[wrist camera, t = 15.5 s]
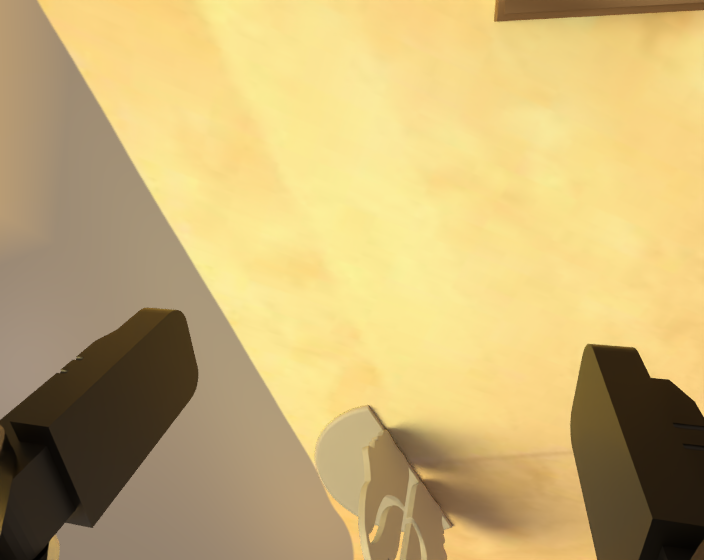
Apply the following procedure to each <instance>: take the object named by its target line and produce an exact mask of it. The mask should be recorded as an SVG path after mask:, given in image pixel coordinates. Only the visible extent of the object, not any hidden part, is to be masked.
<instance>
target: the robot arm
mask: <svg viewBox="0 0 704 560" xmlns="http://www.w3.org/2000/svg"><path fill="white" fill-rule="evenodd" d="M197 382H198V367H197V363H196V359H195V355H194V351H193V346H192V342H191V337H190V334H189V329H188V325H187V321H186V318H185V316H184V314H183V313H182V312H181V311H179V310H169V309H157V308H143V309H141V310H140V311H138V312H137V313H136V314H135V315H134V316H133V317H131V318H130V319H129V320H128V321H127V322H126V323H124V324H123V325H122V326H121V327H120V328H119V329H117V330H116V331H114V332H112V333H110V334H108V335H106V336H104V337H102V338H100V339H98V340H96V341H95V342H93V343H92V344H91V345H90V346H89V347H88V348H86V349H85V350H84V351H83V352H81V353H80V354H79V355H78V356H77V359H76V360H72V361H71V362H69V363H68V364H67V365H66V366H65V367H63V368H62V369H61V372H60V373H56V374H55V375H54V376H53V377H51V378H50V379H49V380H48V381H47V382H45V383H44V384H43V385H42V386H41V387H39V388H38V389H37V390H36V391H34V392H33V393H32V394H31V395H30V396H28V397H27V398H26V399H25V400H24V401H23V402H21V403H20V404H19V405H18V406H16V407H15V408H14V409H13V410H12V411H10V412H9V413H8V414H7V415H6V416H5V417H3V418H2V419H1V420H0V560H59V550H60V545H59V541H58V538H57V536H56V533H57V531H58V530H59V529H60V528H61V527H62V526H63V524H64V523H71V524H76V525H81V526H86V527H91V528H93V526H94V525H95V524H96V522H97V521H98V520H99V519H100V517H101V516H102V515H103V513H104V512H105V511H106V509H107V508H108V507H109V505H110V504H111V503H112V501H113V500H114V499H115V497H116V496H117V495H118V494H119V492H120V491H121V490H122V488H123V487H124V486H125V484H126V483H127V482H128V481H129V479H130V478H131V477H132V475H133V474H134V473H135V471H136V470H137V469H138V467H139V466H140V465H141V463H142V462H143V461H144V460H145V458H146V457H147V455H148V454H149V453H150V451H151V450H152V449H153V448H154V446H155V445H156V444H157V443H158V441H159V440H160V438H161V437H162V436H163V434H164V433H165V432H166V431H167V429H168V428H169V427H170V425H171V424H172V423H173V421H174V420H175V419H176V418H177V416H178V415H179V414H180V412H181V411H182V410H183V408H184V407H185V406H186V404H187V403H188V402H189V401H190V399H191V398H192V396H193V394H194V392H195V390H196V387H197ZM570 427H571V442H572V448H573V452H574V457H575V461H576V466H577V470H578V475H579V479H580V484H581V488H582V493H583V497H584V502H585V506H586V511H587V515H588V520H589V524H590V529H591V533H592V538H593V542H594V547H595V551H596V556H597V560H704V417H703V415H702V414H701V412H700V410H699V408H698V407H697V405H696V403H695V402H694V401H693V400H692V399H691V398H690V397H689V396H687V395H686V394H685V393H684V392H683V391H682V390H680V389H679V388H678V387H677V386H676V385H675V384H673V383H672V382H671V381H670V380H666V379H656V378H650V376H649V374H648V372H647V369H646V367H645V365H644V363H643V361H642V359H641V357H640V355H639V353H638V351H637V350H636V349H635V348H633V347H620V346H608V345H595V344H587V345H586V347H585V349H584V352H583V356H582V361H581V366H580V371H579V376H578V381H577V386H576V391H575V396H574V401H573V406H572V412H571V425H570Z"/></svg>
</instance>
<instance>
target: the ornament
mask: <svg viewBox="0 0 704 560" xmlns="http://www.w3.org/2000/svg"><path fill="white" fill-rule="evenodd" d="M315 464H316V469H317V472H318V475H319V477H320V479H321V481H322V483H323V485H324V486H325V488H326V489H327V491H328V492H329V493H330V494H331V496H332V497H333V498H334V499H335V500H336V501H337V502H338V503H339V504H341V505H342V506H343V507H344V508H345V509H347V510H348V511H350V512H351V513H353V514H354V515H356V516H358V526H359V536H360V543H361V548H362V553H363V557H364V560H394V559H395V558H396V555H397V551H398V547H399V541H400V534H401V532H404V536H403V542H402V549H401V555H400V560H447V554H446V552H445V549H444V547H443V544H444V542H445V539H444V535H443V534H444V530H445V529H448V528H451V527H452V525H451V523H450V522H449V520H448V519H447V518H446V516H445V515H444V513H443V512H442V510H441V508H440V506H439V505H438V504H437V503H436V502H435V500H434V499H433V497H432V496H431V495H430V493H429V492H428V490H427V489H426V487H425V485H424V484H423V483H422V482H421V480H420V479H419V477H418V476H417V475H416V473H415V472H414V470H413V469H412V467H411V466H410V464H409V463H408V462H407V460H406V458H405V456H404V455H403V454H402V452H401V451H400V450H399V449H398V447H397V446H396V444H395V443H394V441H393V439H392V437H391V435H390V433H389V432H388V430H385V429H384V427H383V426H382V424H381V423H380V421H379V420H378V419H377V417H376V416H375V414H374V413H373V411H372V410H371V408H370V407H369V406H368V405H365V406H361V407H357V408H354V409H351V410H348V411H346V412H344V413H342V414H340V415H338V416H337V417H335V418H334V419H333V420H332V421H330V422H329V423H328V424H327V425H326V426H325V428H324V429H323V430H322V432H321V434H320V435H319V438H318V440H317V443H316V448H315ZM374 525H377V526H379V527H378V530H377V533H376V536H375V538H374V540H373V541H372V542H371V543H370V541H369V534H370V533H371V532H372V530H373V527H374Z"/></svg>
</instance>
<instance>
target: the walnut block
mask: <svg viewBox="0 0 704 560" xmlns="http://www.w3.org/2000/svg"><path fill="white" fill-rule="evenodd" d="M694 10H704V0H496V3H495V17H494V21H512V20H530V19H549V18H567V17H585V16H603V15H621V14H639V13H657V12H676V11H694Z"/></svg>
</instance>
